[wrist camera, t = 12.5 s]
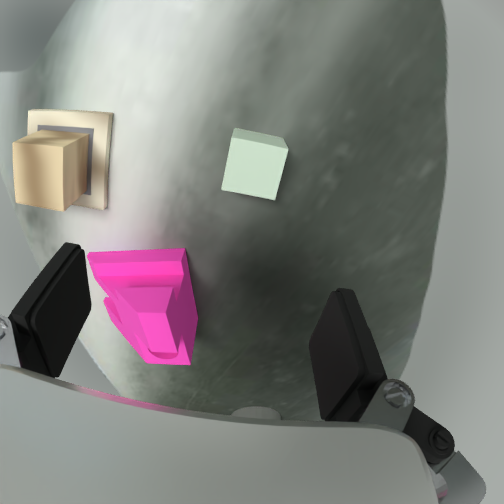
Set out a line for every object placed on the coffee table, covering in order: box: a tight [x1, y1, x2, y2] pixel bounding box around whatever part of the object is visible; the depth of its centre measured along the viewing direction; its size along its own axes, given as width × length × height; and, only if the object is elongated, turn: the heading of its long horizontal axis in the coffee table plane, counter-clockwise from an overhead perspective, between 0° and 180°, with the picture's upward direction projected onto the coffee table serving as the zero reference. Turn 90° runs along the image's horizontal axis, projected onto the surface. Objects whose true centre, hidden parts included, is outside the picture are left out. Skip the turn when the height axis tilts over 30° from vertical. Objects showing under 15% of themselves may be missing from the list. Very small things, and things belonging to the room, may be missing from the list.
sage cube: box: [221, 128, 288, 200], centre depth 27 cm, size 4×4×4 cm
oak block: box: [13, 130, 89, 212], centre depth 25 cm, size 6×6×5 cm
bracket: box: [87, 248, 198, 365], centre depth 32 cm, size 12×10×10 cm
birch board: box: [28, 109, 113, 210], centre depth 27 cm, size 10×10×1 cm
